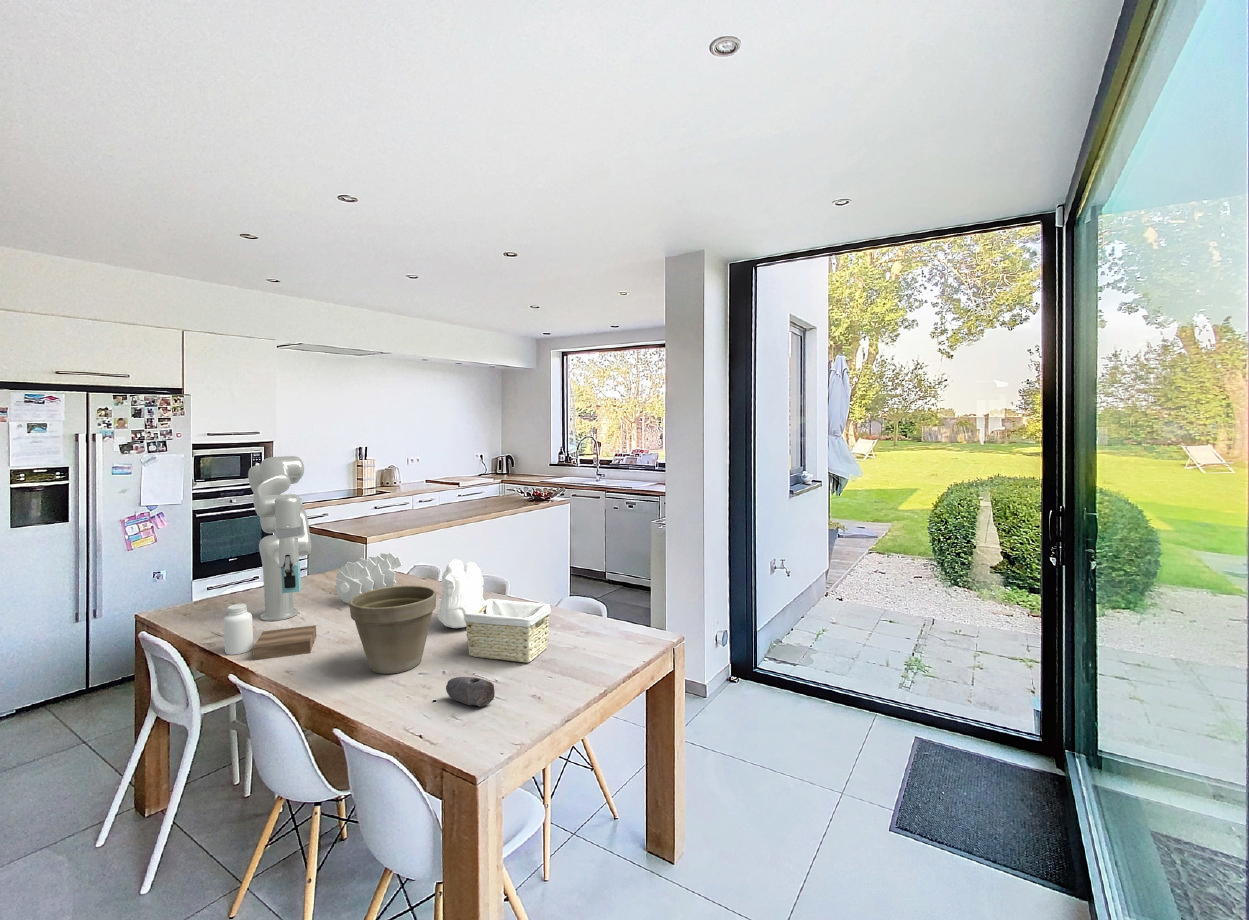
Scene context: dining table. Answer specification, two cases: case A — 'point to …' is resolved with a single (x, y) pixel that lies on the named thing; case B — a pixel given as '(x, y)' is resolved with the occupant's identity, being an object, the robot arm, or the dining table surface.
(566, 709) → the dining table surface
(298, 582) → the teal carton
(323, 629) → the dining table surface
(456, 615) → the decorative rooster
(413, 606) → the plant pot
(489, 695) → the perforated stone tool
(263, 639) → the wavy brown panel
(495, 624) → the storage basket
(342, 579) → the spiral staircase
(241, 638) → the pill bottle
